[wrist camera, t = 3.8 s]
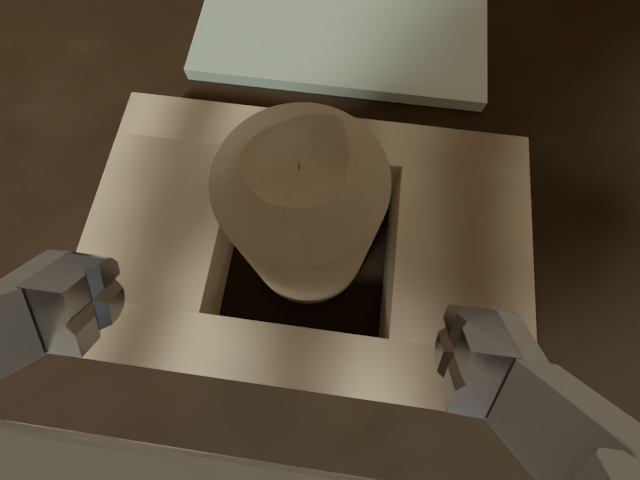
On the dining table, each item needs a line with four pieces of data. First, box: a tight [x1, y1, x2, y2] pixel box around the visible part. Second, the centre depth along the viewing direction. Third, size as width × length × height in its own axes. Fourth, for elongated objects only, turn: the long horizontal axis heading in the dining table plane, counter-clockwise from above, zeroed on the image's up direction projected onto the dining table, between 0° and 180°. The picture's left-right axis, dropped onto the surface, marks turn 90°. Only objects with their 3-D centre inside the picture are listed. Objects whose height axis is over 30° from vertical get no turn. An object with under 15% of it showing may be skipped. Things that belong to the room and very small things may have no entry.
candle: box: [209, 102, 392, 304], centre depth 14 cm, size 6×6×10 cm
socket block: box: [76, 92, 537, 411], centre depth 17 cm, size 20×13×3 cm, turn 82°
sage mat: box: [184, 0, 487, 112], centre depth 23 cm, size 18×12×1 cm, turn 82°
